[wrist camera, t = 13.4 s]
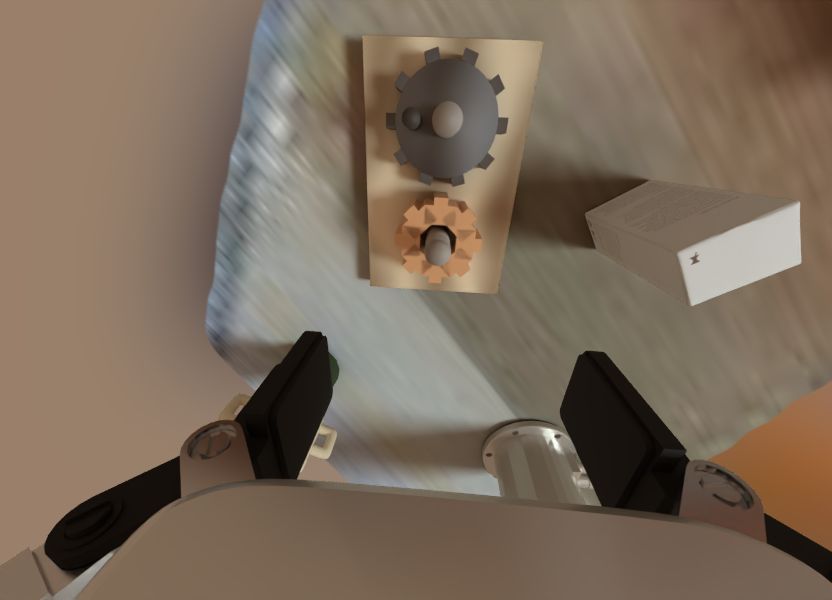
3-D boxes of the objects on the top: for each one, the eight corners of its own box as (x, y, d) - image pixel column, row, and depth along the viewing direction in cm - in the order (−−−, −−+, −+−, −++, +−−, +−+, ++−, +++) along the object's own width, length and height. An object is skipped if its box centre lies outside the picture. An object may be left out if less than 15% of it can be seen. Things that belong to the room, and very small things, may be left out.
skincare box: (595, 251, 29) (687, 310, 19) (582, 212, 28) (673, 252, 17) (662, 220, 28) (806, 265, 17) (652, 177, 26) (803, 196, 15)
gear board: (537, 47, 23) (587, -5, 15) (494, 287, 32) (512, 331, 24) (366, 42, 23) (332, -11, 15) (373, 280, 32) (353, 320, 24)
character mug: (268, 366, 38) (196, 459, 27) (282, 324, 35) (208, 410, 24) (346, 397, 40) (310, 498, 29) (366, 360, 37) (335, 456, 26)
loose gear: (482, 194, 26) (488, 200, 23) (471, 271, 29) (475, 285, 26) (400, 189, 26) (395, 195, 23) (398, 266, 30) (394, 280, 26)
